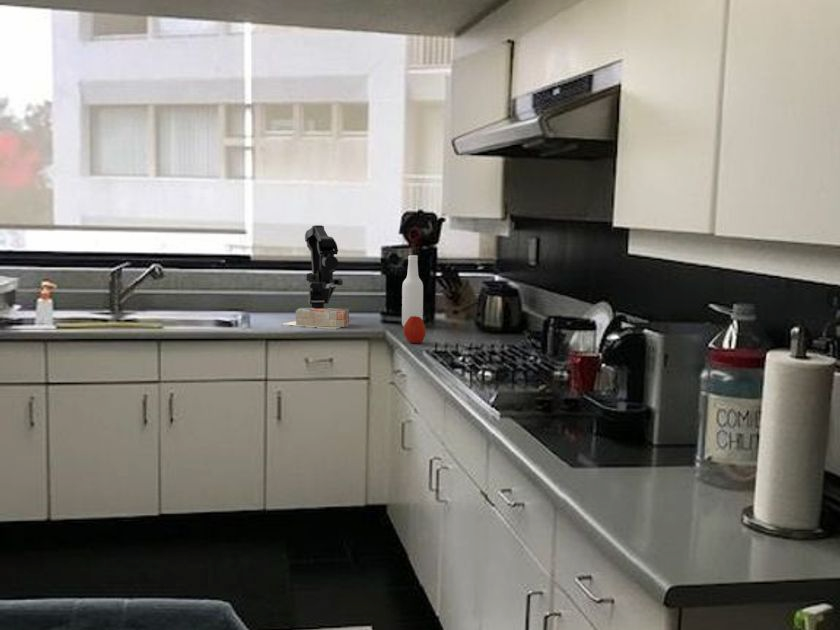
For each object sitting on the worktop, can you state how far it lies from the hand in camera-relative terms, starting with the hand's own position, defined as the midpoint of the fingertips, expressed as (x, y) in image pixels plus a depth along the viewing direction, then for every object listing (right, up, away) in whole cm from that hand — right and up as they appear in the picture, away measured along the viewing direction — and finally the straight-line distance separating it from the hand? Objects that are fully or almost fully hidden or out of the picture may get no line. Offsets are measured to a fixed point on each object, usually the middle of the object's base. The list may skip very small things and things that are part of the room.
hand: (326, 303), depth 394 cm
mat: (-4, -9, -8) cm, 13 cm away
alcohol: (+37, -10, -9) cm, 40 cm away
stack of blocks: (0, -5, -3) cm, 6 cm away
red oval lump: (+39, -16, -51) cm, 66 cm away
